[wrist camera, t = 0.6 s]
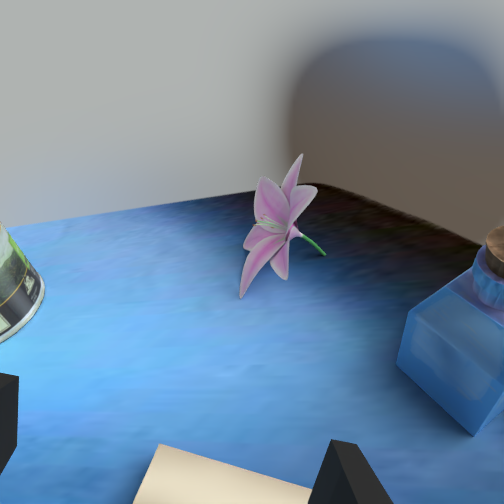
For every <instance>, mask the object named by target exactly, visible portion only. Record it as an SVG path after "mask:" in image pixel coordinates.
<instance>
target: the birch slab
mask: <svg viewBox="0 0 504 504" xmlns="http://www.w3.org/2000/svg"><path fill="white" fill-rule="evenodd" d="M311 492H312V489H308V488H305V487H302V486H298V485H295V484H292V483H289V482H285V481H282V480H279V479H275V478H272V477H269V476H265V475H262V474H259V473H255V472H252V471H249V470H246V469H242V468H239V467H236V466H232V465H229V464H226V463H222V462H219V461H216V460H212V459H209V458H206V457H203V456H199V455H196V454H193V453H189V452H186V451H183V450H179V449H176V448H173V447H169V446H166V445H163V444H159V446H158V448H157V450H156V452H155V455H154V457H153V459H152V461H151V464H150V466H149V468H148V470H147V473H146V475H145V477H144V479H143V481H142V484H141V486H140V488H139V490H138V493H137V495H136V497H135V499H134V501H133V504H308V500H309V497H310V495H311Z"/></svg>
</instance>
